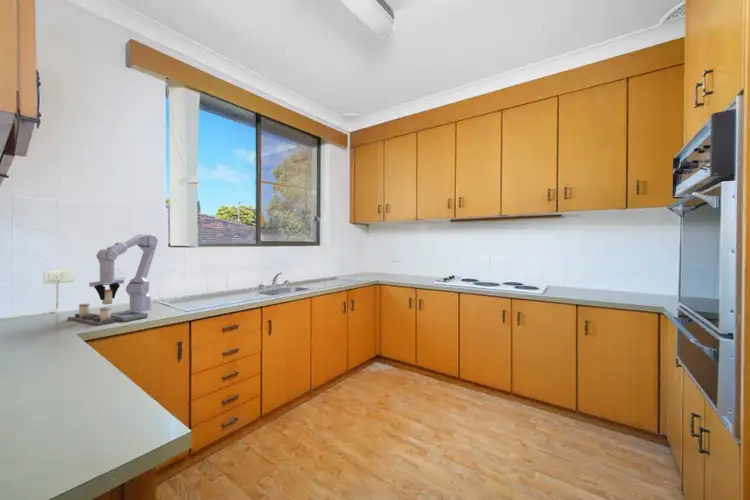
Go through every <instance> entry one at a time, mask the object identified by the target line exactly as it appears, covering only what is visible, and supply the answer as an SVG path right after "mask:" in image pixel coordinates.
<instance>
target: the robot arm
mask: <svg viewBox="0 0 750 500" xmlns="http://www.w3.org/2000/svg"><path fill="white" fill-rule="evenodd" d="M158 242H159V240H158V238H157V236H156V235H155V234H141V233H138V234H136V235H133V237H131V238H130V239H128V240H126V241H124V242H114V244H113V245H111V246H107V248H105V249H104V248H102V249H99V251H97V254H96V255H95V256H96V258H97V259H98V260H97V261H98V264H99V280H98V281H94V282H92V281H91V282H88V285H89V286H88V287H91V288H92V287H93V288H94V289H95V290H96V293H97V294H98V296H99V300H101V301H102V300H104V292H105V290H106V286H109V289H111V290H112V299H115V297H116V294H117V292H118V290H119V288H120V286H121V284H125V279H115V260H117V258H118V257H119V256H121V255H123V254H124V253H126V252H127V251H128V249H129V248H132V247H134V246H138V247H139V248H140V250H142V251H143V252H142V256H141V259H140V262H139V265H138V266H137V270H136V273H135V276H134V277H133V278H132V279H130V280H129V283H128V284H127V285H126V287H125V291H126V293H127V294H128V296H129V309H126V310H125V312H128V311H137V312H145V311H149V310H152V304H151V303H152V301H151V300H152V299H151V298H152V297H151V295H150V294H148V293H149V290H150V282H149V280H148V279H147V277H148V275H149V272H150V268H151V266H152V263H153V260H154V257H155V253H156V248H157V245H158Z"/></svg>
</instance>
